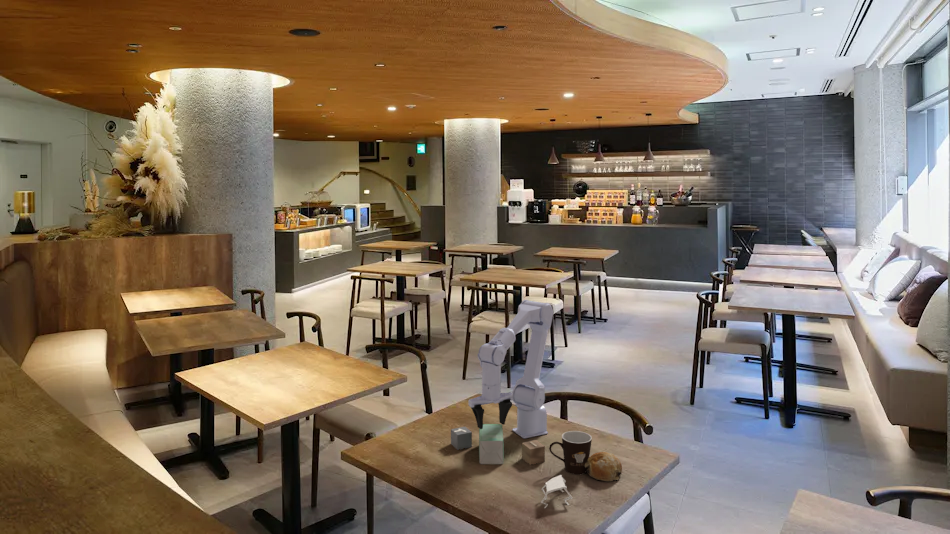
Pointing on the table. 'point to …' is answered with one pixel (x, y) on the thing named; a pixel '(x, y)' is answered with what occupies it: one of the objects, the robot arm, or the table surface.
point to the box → (491, 444)
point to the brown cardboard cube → (533, 452)
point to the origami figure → (555, 487)
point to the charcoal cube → (461, 438)
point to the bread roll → (604, 466)
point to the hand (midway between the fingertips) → (491, 425)
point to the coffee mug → (574, 451)
